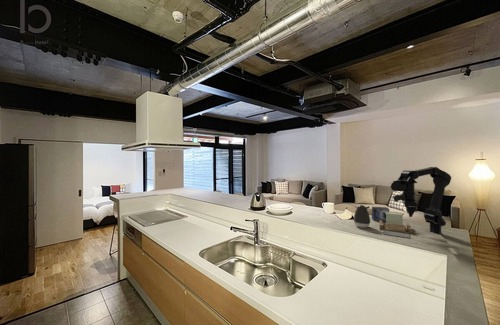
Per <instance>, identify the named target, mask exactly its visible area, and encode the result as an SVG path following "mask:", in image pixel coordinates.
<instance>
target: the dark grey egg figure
mask: <svg viewBox="0 0 500 325" xmlns="http://www.w3.org/2000/svg"><path fill="white" fill-rule="evenodd" d="M368 209H370V206H365V205H363V204H359V205H358V206H357V207H356V210H355V211H354V215H353V216H354V217H353V222H354V224H355V226H357V227H358V228H361V229H367V228H368V227H369V226H370V224H371V217H370V213H369V211H368Z"/></svg>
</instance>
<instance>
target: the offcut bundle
mask: <svg viewBox="0 0 500 325" xmlns="http://www.w3.org/2000/svg"><path fill="white" fill-rule="evenodd" d="M384 224H385V228H384V229H389V230H397V231H404V232H406V231H405V228H406V225H404V224H403V225H397V224H389V223H386V222H384Z"/></svg>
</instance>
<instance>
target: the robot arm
mask: <svg viewBox="0 0 500 325" xmlns="http://www.w3.org/2000/svg"><path fill="white" fill-rule="evenodd" d="M428 175H429V176H430V177H431V178H432V182H433V184H434V187H433V188H434V189H433V191H432V192H433V193H432V196H431V201H430V205H429V207H428V208H424V212H423V217H424V220H425V223H427V224H429V232H430V233H433V234H435V235H436V234H438V235H440V236H444V234H443V232H442V227H444V226H446V225H447V222H446V221H445V219H444V218H443V213H442V210H441V208H442V207H441V206H442V203H443V199H444V193H445V191H446V190H445V189H446V188H447V187H448V186H449V185H450V183H451V180H452V176H451V175H450V174H449V173H448V172H446V171H444V170H442V169H440V168H439V167H437V166H429V167H425V168H421V169H415V170H401V173H400V174H399V176H398V178H397V179H395V180H393V181H392V183H391V184H390V189H391V190H392V191H393V192H401V193H399V194H396V195H392V199H393V201H394V202H400V201H401V202H402V203H403V205H404V208H405V209H406V212H407V213H406V214H408V215H409V218H412V217H413V216H414V213H415V211H416V210H417V208H418V207H419V205H418V204H419V203H418V202H417V201H416V191H415V188H416V187H415V184H418V181H416V180H417V179H418V178H419V177H423V176H428Z"/></svg>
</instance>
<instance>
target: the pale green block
mask: <svg viewBox="0 0 500 325" xmlns="http://www.w3.org/2000/svg"><path fill="white" fill-rule="evenodd" d="M403 217H404V215H403V213H397V212H396V213H395V212H389V213H388V212H386V222H385V223H389V224H397V225H404V223H403V222H404V220H403V219H404V218H403Z"/></svg>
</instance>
